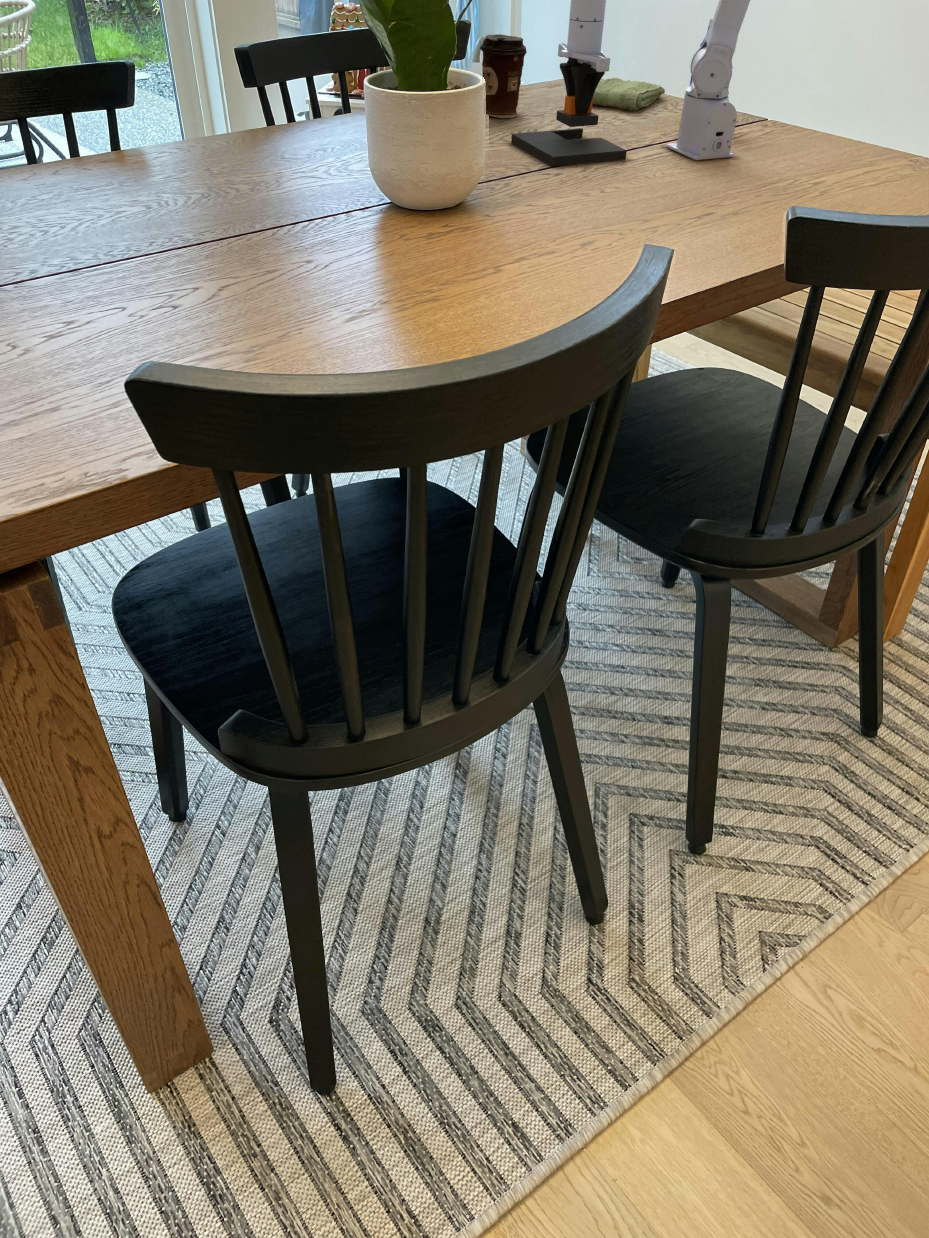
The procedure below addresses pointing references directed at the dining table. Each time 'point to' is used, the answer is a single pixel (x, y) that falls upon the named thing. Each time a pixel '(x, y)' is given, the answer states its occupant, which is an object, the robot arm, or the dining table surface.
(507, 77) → the coffee cup
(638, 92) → the washcloth
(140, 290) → the dining table surface
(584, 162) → the base pad
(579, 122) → the connector pad
